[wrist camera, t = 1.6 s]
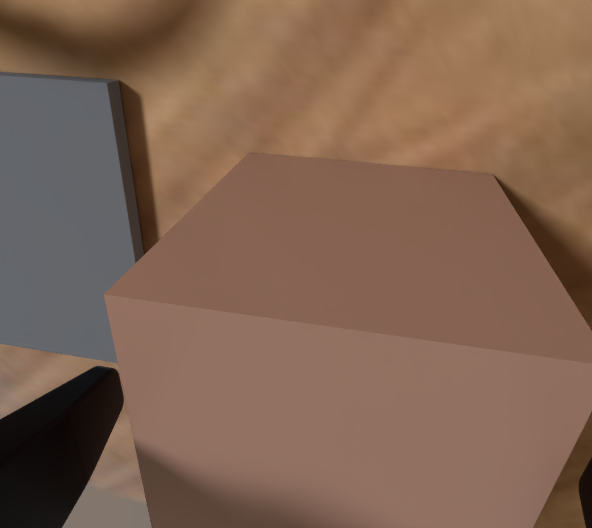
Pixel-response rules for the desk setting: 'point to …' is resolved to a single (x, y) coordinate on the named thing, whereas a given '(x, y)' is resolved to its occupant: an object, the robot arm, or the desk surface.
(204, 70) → the desk surface
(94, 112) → the slate mat
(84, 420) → the robot arm
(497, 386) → the dusty pink block
